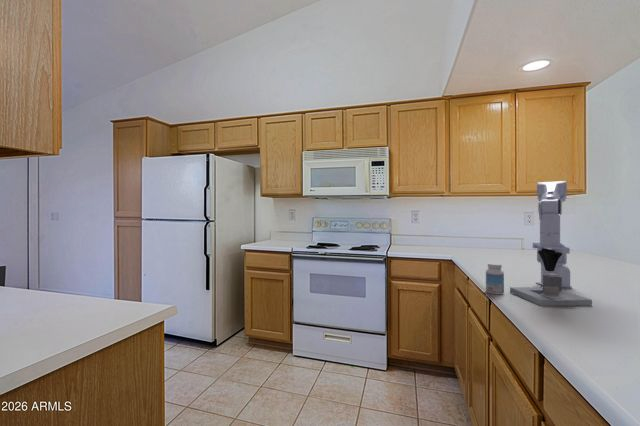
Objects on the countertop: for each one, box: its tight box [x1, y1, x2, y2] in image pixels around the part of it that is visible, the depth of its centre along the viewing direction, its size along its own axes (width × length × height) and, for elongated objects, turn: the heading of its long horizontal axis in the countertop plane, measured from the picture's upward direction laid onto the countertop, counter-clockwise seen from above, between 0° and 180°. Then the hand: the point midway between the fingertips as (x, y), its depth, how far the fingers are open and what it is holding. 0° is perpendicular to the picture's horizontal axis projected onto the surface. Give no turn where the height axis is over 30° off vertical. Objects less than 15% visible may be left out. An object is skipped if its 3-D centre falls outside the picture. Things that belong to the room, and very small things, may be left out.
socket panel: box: [509, 286, 593, 307], centre depth 106 cm, size 17×16×2 cm
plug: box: [542, 273, 563, 291], centre depth 111 cm, size 4×4×6 cm
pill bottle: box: [485, 262, 505, 295], centre depth 114 cm, size 6×6×11 cm
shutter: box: [541, 285, 575, 301], centre depth 100 cm, size 6×6×3 cm
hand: (549, 270), depth 104 cm, fingers closed
